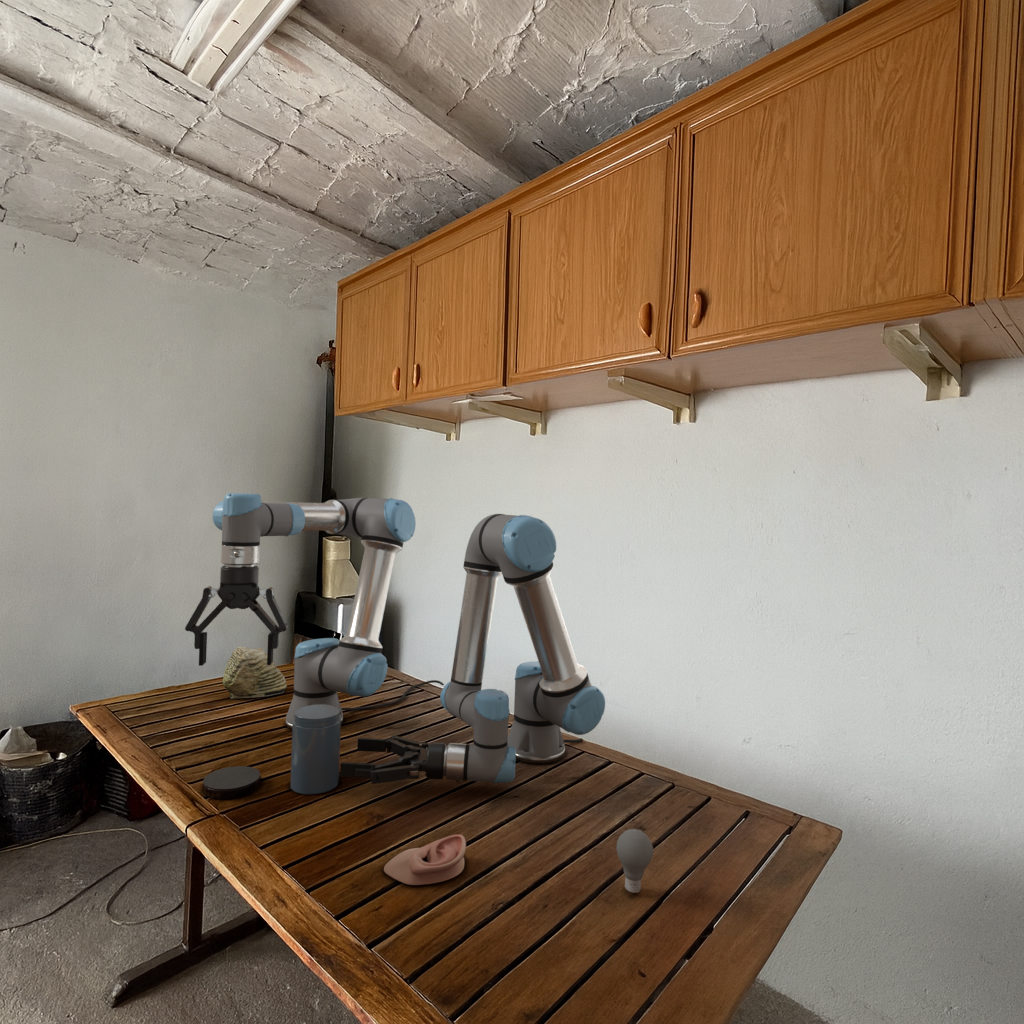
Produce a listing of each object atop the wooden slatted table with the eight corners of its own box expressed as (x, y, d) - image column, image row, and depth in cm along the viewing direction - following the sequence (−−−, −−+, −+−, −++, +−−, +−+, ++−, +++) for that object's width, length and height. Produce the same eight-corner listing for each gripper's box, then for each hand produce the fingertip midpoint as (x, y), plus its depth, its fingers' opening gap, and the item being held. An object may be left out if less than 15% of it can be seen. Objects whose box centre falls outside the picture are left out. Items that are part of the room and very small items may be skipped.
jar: (320, 769, 147) (322, 700, 147) (348, 783, 141) (351, 711, 140) (280, 784, 139) (283, 711, 138) (308, 799, 133) (311, 722, 132)
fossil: (218, 695, 195) (220, 647, 195) (278, 685, 208) (279, 640, 207) (228, 703, 189) (230, 653, 188) (289, 692, 201) (290, 645, 201)
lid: (190, 792, 133) (190, 782, 133) (231, 772, 144) (232, 762, 144) (232, 804, 129) (232, 793, 129) (271, 781, 140) (272, 771, 140)
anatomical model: (377, 856, 105) (402, 822, 117) (376, 879, 106) (401, 843, 117) (453, 868, 103) (472, 833, 114) (452, 892, 103) (471, 854, 114)
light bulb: (610, 879, 108) (613, 822, 108) (644, 879, 109) (647, 822, 109) (619, 902, 102) (622, 840, 102) (655, 901, 103) (658, 840, 103)
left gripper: (171, 565, 129) (167, 668, 130) (298, 568, 134) (294, 667, 135) (182, 561, 137) (179, 659, 137) (303, 564, 142) (299, 658, 142)
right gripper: (436, 805, 127) (331, 799, 127) (451, 755, 152) (363, 750, 152) (438, 768, 127) (333, 762, 127) (452, 724, 152) (364, 719, 152)
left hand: (236, 663), depth 136 cm, fingers open, 13 cm apart
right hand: (349, 756), depth 140 cm, fingers open, 13 cm apart
